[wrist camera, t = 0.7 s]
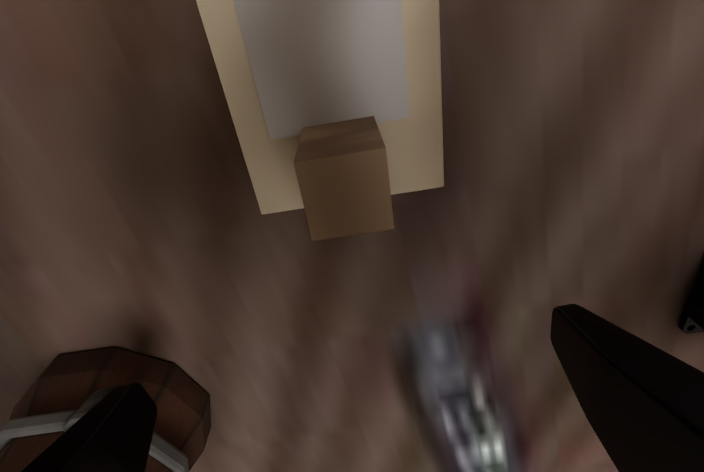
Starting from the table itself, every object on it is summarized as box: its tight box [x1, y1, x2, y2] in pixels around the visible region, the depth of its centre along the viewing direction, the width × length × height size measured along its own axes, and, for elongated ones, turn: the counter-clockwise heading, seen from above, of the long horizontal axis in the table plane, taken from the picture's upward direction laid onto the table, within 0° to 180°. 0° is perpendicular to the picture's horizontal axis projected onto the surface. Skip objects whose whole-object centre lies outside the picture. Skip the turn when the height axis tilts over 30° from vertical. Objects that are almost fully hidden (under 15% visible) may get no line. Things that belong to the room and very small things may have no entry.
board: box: [196, 0, 444, 215], centre depth 15 cm, size 9×16×1 cm, turn 9°
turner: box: [234, 0, 410, 241], centre depth 13 cm, size 6×13×5 cm, turn 8°
